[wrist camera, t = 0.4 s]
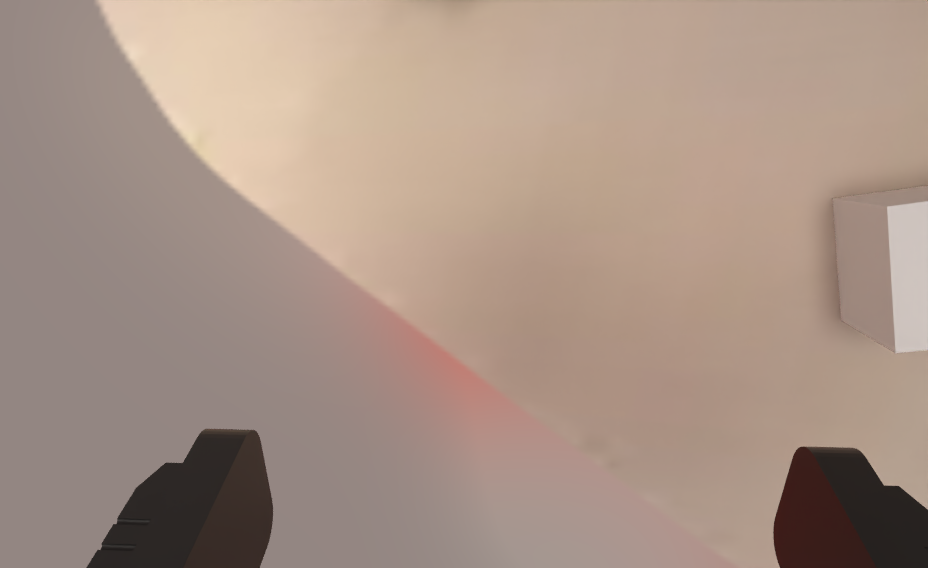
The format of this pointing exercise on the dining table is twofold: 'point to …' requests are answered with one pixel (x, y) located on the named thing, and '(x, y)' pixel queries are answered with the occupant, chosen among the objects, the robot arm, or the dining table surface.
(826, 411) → the dining table surface
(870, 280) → the white cube
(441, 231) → the dining table surface
